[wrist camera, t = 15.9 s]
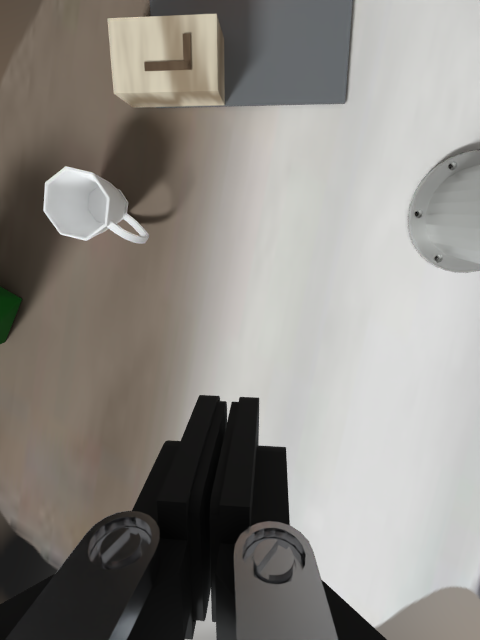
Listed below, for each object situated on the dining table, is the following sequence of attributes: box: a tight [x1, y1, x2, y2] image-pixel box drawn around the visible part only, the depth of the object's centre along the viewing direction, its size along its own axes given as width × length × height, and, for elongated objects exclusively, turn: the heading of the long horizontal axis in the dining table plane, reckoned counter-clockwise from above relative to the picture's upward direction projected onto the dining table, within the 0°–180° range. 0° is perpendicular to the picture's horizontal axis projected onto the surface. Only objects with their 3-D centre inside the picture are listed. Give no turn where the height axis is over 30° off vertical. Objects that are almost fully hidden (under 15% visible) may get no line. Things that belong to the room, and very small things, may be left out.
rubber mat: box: [150, 0, 353, 108], centre depth 36 cm, size 20×18×1 cm
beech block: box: [108, 14, 225, 107], centre depth 36 cm, size 5×6×10 cm
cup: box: [43, 166, 149, 244], centre depth 40 cm, size 7×10×8 cm
